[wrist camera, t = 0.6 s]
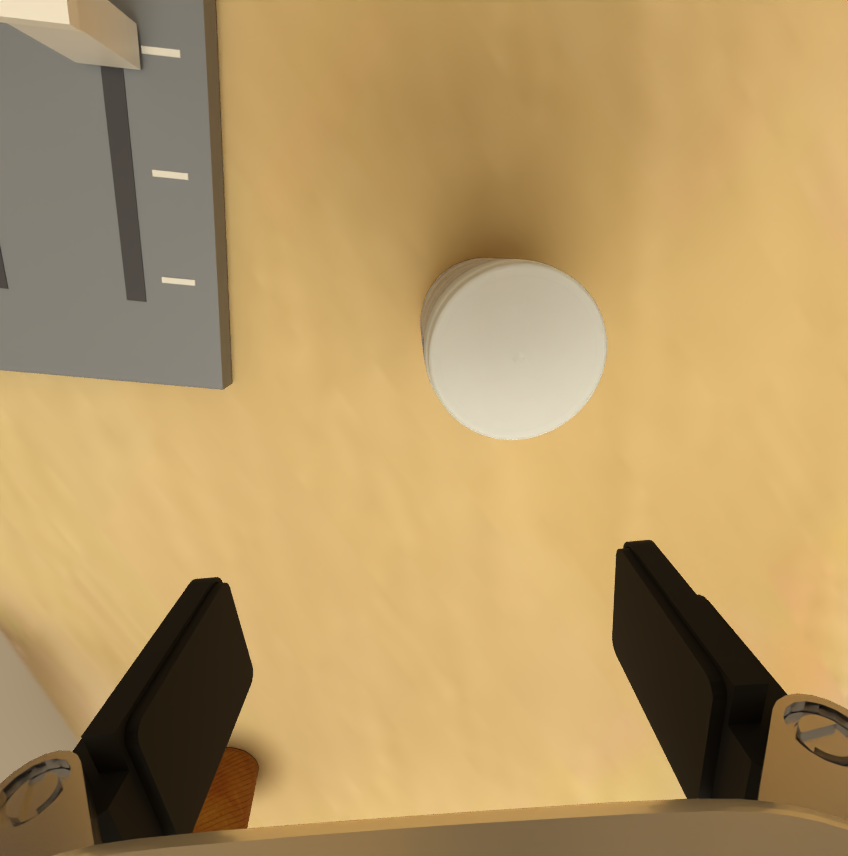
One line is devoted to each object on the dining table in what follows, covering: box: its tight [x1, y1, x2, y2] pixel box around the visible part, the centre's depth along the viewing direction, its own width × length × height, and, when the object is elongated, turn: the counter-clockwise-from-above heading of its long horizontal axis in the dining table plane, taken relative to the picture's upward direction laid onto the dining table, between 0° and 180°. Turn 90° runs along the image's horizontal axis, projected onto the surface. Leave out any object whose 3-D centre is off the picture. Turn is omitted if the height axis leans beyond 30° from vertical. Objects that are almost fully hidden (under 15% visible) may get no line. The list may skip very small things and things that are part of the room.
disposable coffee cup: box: [192, 748, 258, 833], centre depth 49 cm, size 10×10×12 cm
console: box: [0, 0, 232, 390], centre depth 33 cm, size 28×22×2 cm
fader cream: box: [0, 0, 141, 70], centre depth 26 cm, size 3×4×7 cm, turn 85°
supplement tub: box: [421, 258, 607, 440], centre depth 31 cm, size 10×10×15 cm
